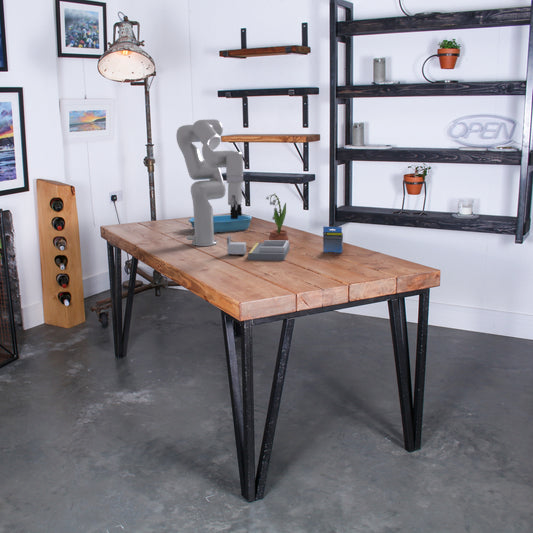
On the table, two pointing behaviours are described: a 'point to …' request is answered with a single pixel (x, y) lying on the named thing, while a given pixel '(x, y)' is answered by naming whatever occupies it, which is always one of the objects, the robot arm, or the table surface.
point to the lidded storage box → (235, 247)
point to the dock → (269, 250)
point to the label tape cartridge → (332, 239)
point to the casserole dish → (228, 223)
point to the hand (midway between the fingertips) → (236, 217)
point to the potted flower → (278, 222)
